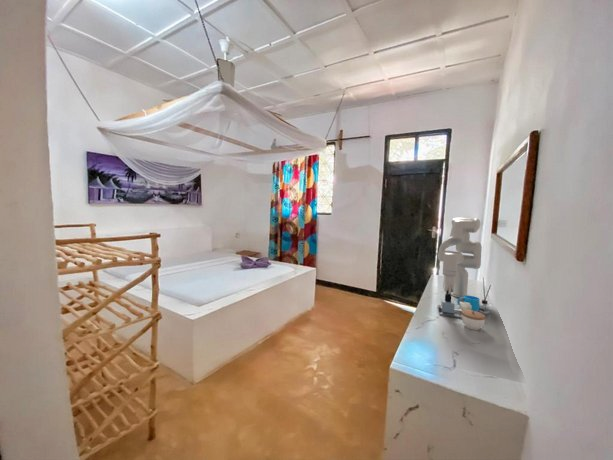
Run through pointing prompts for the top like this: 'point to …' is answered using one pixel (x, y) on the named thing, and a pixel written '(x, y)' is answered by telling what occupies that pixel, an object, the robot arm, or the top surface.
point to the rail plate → (455, 315)
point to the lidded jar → (473, 319)
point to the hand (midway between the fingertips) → (447, 301)
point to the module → (447, 306)
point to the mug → (471, 302)
